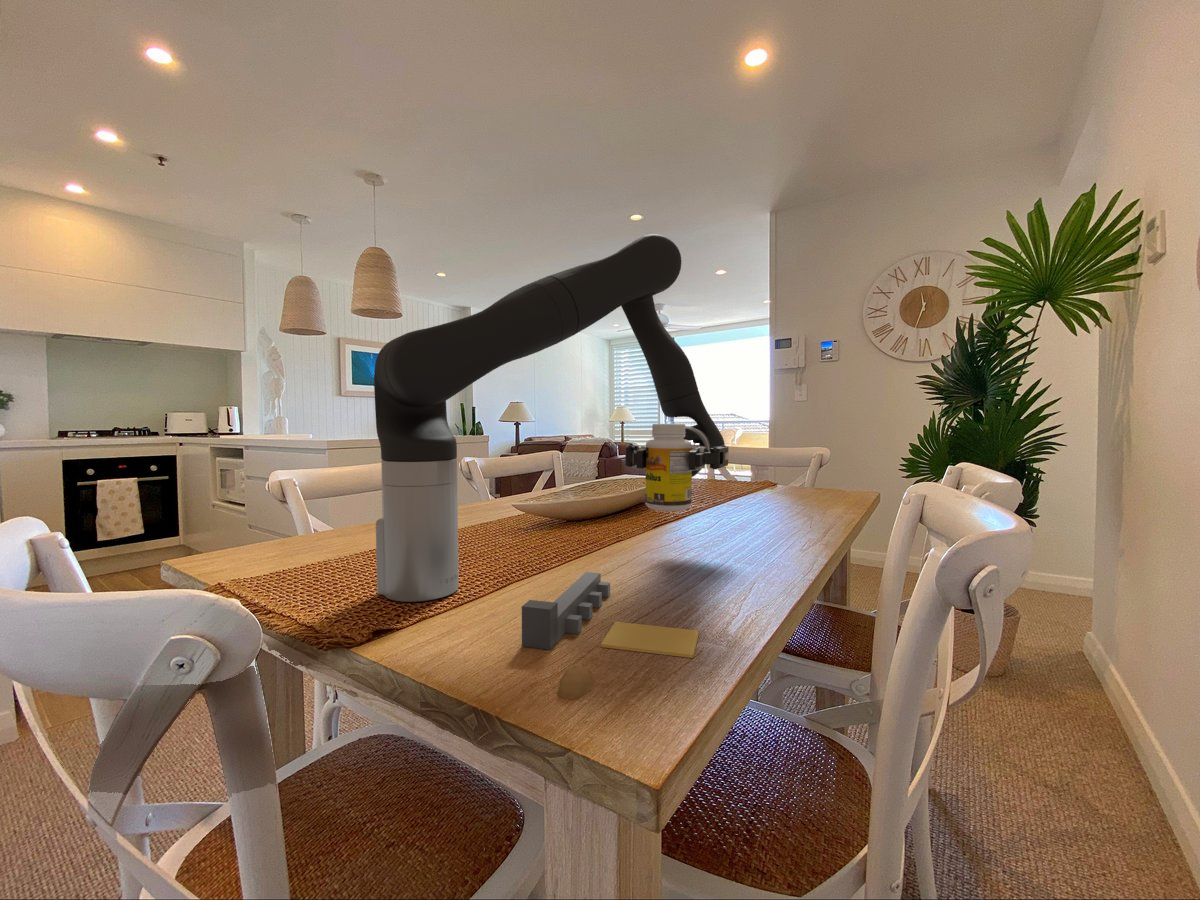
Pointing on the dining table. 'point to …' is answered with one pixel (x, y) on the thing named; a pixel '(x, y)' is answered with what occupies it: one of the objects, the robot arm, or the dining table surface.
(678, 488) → the supplement bottle
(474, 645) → the dining table surface
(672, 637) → the yellow sticky note
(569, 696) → the potato
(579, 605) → the cable comb
